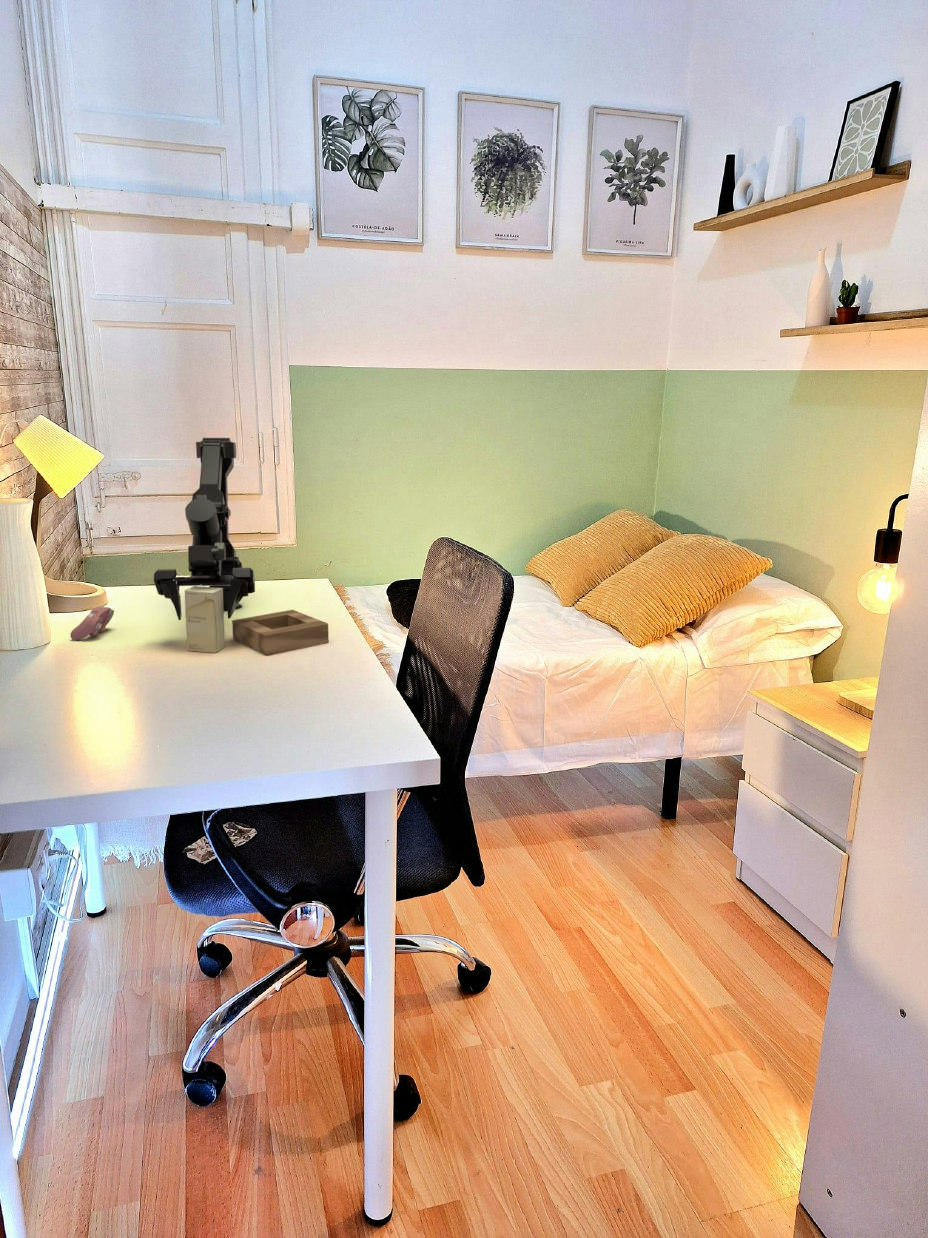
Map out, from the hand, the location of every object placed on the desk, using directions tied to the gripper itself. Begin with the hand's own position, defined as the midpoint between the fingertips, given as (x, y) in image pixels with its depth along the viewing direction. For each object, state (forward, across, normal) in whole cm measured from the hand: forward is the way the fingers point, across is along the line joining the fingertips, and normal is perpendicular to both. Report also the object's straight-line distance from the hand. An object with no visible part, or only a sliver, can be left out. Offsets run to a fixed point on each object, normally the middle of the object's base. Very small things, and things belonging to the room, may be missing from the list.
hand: (204, 618), depth 162 cm
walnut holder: (+1, +14, +8) cm, 16 cm away
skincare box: (+4, 0, +6) cm, 7 cm away
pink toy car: (-5, -24, +15) cm, 29 cm away
